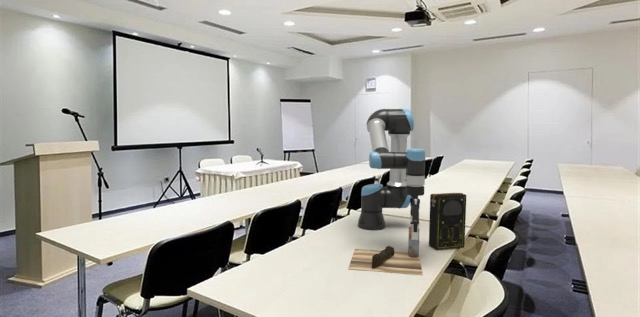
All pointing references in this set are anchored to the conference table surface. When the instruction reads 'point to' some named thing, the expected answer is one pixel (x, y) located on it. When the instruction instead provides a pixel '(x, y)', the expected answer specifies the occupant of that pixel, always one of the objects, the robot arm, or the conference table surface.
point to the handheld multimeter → (447, 220)
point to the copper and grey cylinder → (413, 246)
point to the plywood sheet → (386, 262)
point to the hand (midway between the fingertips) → (414, 235)
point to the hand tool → (382, 256)
